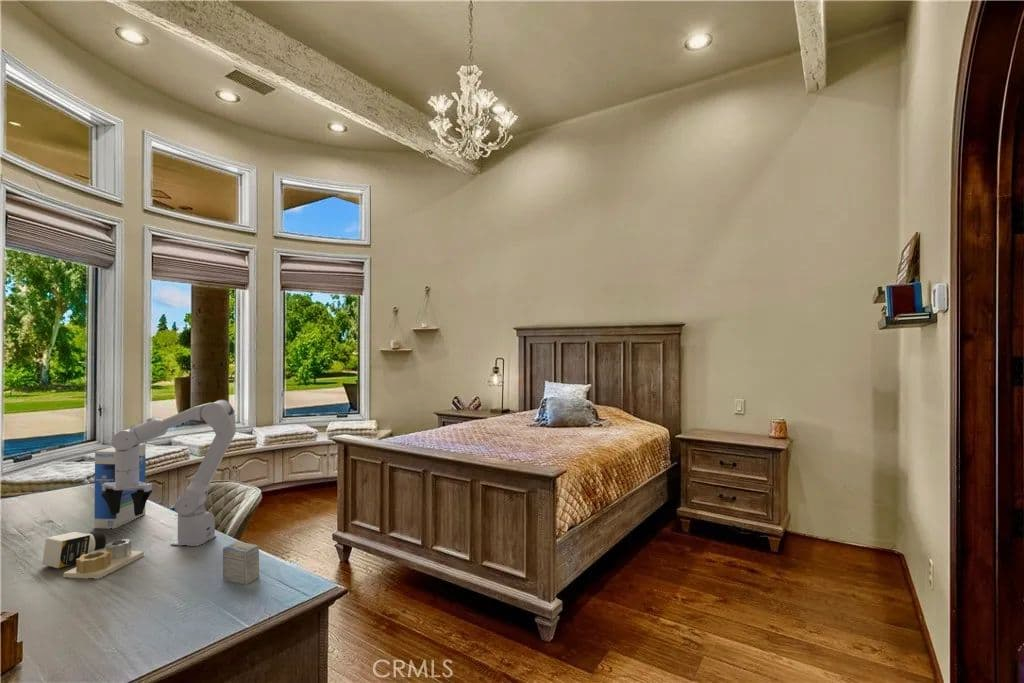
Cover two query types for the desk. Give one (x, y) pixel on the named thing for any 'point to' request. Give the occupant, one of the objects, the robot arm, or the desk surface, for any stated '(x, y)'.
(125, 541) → the steel gear
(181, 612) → the desk surface
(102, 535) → the medicine bottle
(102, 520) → the string lights box
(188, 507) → the robot arm
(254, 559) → the beige wooden block
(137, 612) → the desk surface
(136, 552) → the gear board
